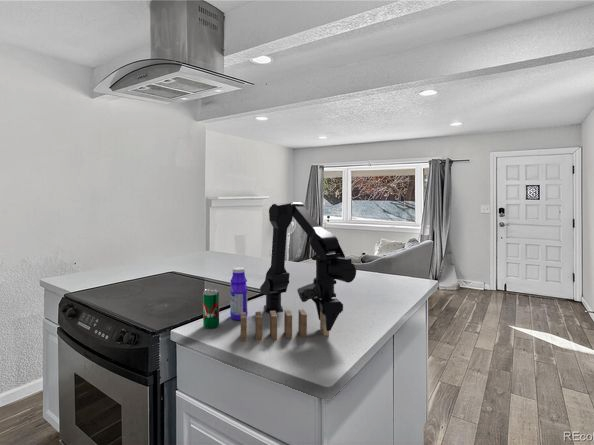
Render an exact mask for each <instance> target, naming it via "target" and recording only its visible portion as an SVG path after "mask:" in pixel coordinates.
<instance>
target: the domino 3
mask: <svg viewBox="0 0 594 445" xmlns="http://www.w3.org/2000/svg"><path fill="white" fill-rule="evenodd" d="M276 312H277V311H270V312H269V334H270V338H271V340H277V339H278V315H277V313H276Z"/></svg>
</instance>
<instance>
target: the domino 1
mask: <svg viewBox="0 0 594 445" xmlns="http://www.w3.org/2000/svg"><path fill="white" fill-rule="evenodd" d="M247 318H248V316H247V317H246V312H241V320H240V342H247V340H248V339H247V338H248V335H247V334H248V333H247V331H248V329H247V327H248V326H247V323H248V321H247V320H248V319H247Z"/></svg>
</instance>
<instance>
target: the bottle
mask: <svg viewBox="0 0 594 445" xmlns="http://www.w3.org/2000/svg"><path fill="white" fill-rule="evenodd" d="M245 271H246V270H245V268H244V267H242V266H240V267H239V266H238V267H233V268H232V277H231V279H230V288H229V291H230V296H229V298H230V299H229V300H230V311H229V312H230V317H231V319H232V320H235V321H241V312H246V317H247V318H248V286H247V282H248V280H247V278H246V274H245Z"/></svg>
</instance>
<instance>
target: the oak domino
mask: <svg viewBox="0 0 594 445" xmlns="http://www.w3.org/2000/svg"><path fill="white" fill-rule="evenodd" d="M319 323H320V324H319V330H320V331H321V333H322V334H323V336H324V337H325V336H327V337H328V336H330V331H327V330H326V324H325V316H324V314H323V313H322V312H321V311H320V320H319Z"/></svg>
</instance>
